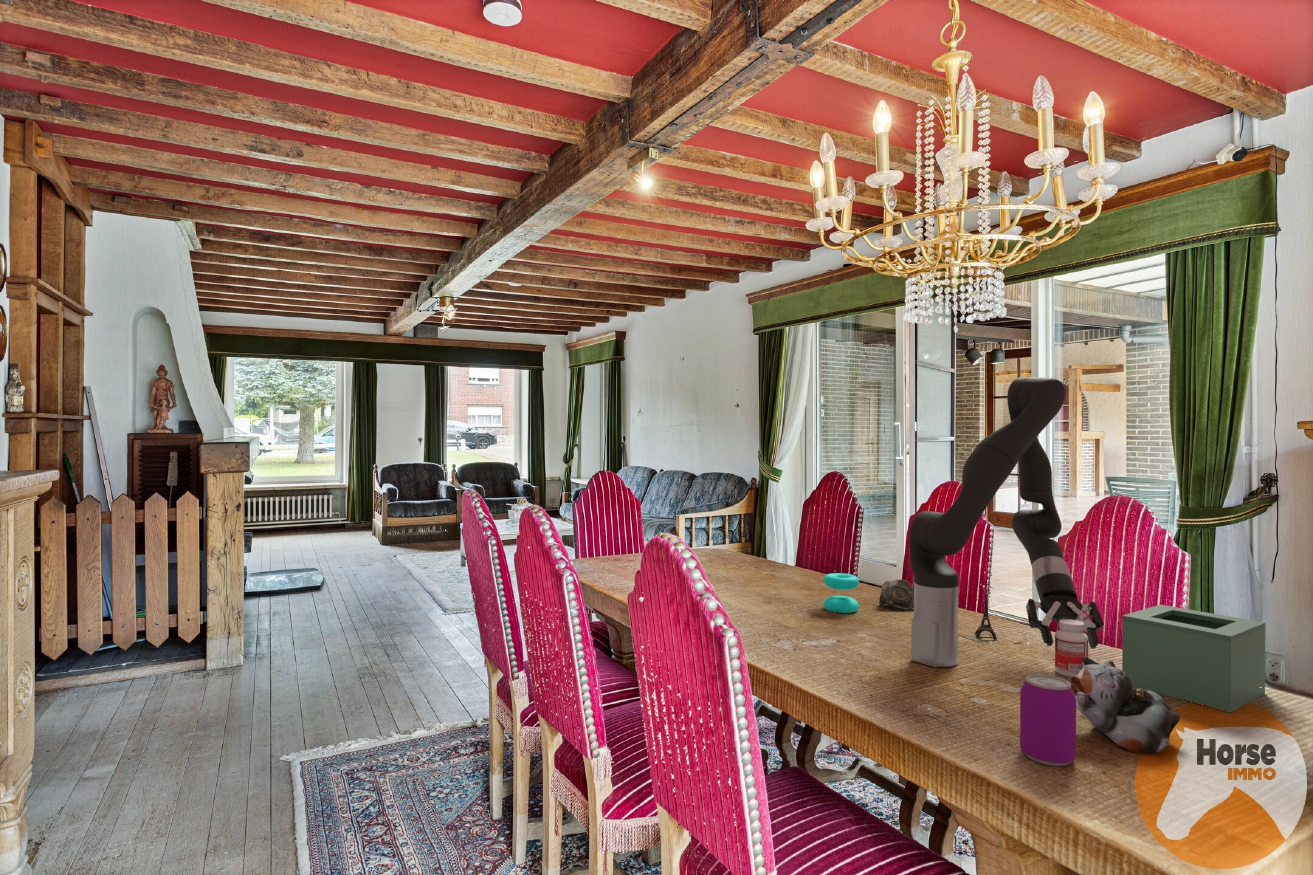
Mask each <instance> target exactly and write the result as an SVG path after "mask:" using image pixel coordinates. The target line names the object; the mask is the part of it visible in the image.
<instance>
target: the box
mask: <svg viewBox="0 0 1313 875" xmlns="http://www.w3.org/2000/svg"><path fill="white" fill-rule="evenodd" d="M1121 650H1122V654H1121V655H1122V657H1121V658H1122V659H1121V661H1122V664H1121V665H1122V668H1121V670H1122V671H1124V672H1125V673H1126V674H1127V676H1128V677H1129V679H1130V680H1131V682H1132V684H1133V686H1134V687H1135V688H1138V689H1140V688H1142V689H1145V690H1150V691H1153V692H1155V693H1157V694H1158V695H1160V696H1161V695H1162V696H1166V697H1170V698H1173V699H1176V698H1177V700H1180V699H1181V700H1182V701H1184V700H1186V701H1185V702H1188V701H1192V702H1194V703H1193V704H1195V703H1199V704H1203V705H1206V706H1205V707H1207V706H1209V707H1208V708H1211V707H1213V708H1212V709H1214V708H1215V710H1219V711H1222V712H1227V713H1229V712H1231V713H1233V712H1234V710H1235V711H1236V710H1238V709H1240V708H1241V707H1244V706H1246V705H1247V704H1250V703H1251V702H1253V701H1254V700H1256V699H1258V698H1260V697H1262V696H1263V695H1266V694H1265V693H1266V622H1263V621H1258V620H1252V619H1245V618H1240V617H1234V616H1228V615H1224V614H1223V615H1222V614H1217V613H1211V612H1206V611H1199V610H1194V609H1190V608H1189V609H1188V608H1182V607H1176V606H1171V605H1165V604H1158V605H1155V606H1151V607H1148V608H1145V609H1144V608H1143V609H1142V610H1141V609H1140V610H1138V611H1134V612H1131V613H1128V614H1124V615H1122V649H1121ZM1259 687H1262V688H1259ZM1192 702H1191V703H1192ZM1199 704H1198V705H1199ZM1203 705H1202V706H1203Z"/></svg>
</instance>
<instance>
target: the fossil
mask: <svg viewBox="0 0 1313 875" xmlns="http://www.w3.org/2000/svg"><path fill="white" fill-rule="evenodd" d="M880 591H881V592H880V596H879V602H878V605H879V604H880V605H879V606H882V605H883V606H885V605H887V606H889V607H890V608H891V609H893V610H896V611H899V610H903V611H902V612H906V611H907V610H909V611H911V610H914V587H913V586H912V583H910V582H909V581H908V580H905V579H895V580H886V581H884V582H883V583H882V586H881V590H880ZM907 612H908V611H907Z"/></svg>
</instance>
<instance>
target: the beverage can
mask: <svg viewBox="0 0 1313 875" xmlns="http://www.w3.org/2000/svg"><path fill="white" fill-rule="evenodd" d="M1070 683H1071V682H1070V680H1067V679H1065V678H1063V677H1059V676H1056V675H1050V674H1043V673H1042V674H1041V673H1033V674H1032V673H1031V674H1027V675H1026V676H1025V679H1024V681H1023V684H1022V686H1021V688H1020V691H1019V692H1020V693H1019V694H1020V695H1019V696H1020V698H1019V700H1020V701H1019V703H1020V705H1019V706H1020V707H1019V746H1020V751H1021V752H1023V753H1024V755H1025V756H1026V757H1027V758H1028V759H1030V760H1032V761H1033V762H1036V763H1039V764H1042V765H1045V766H1051V767H1065V766H1068V765H1070V763H1072V762H1074V761H1075V760H1076V756H1077V755H1076V754H1077V707H1076V698H1075V695H1074V693H1073V690H1072V687H1071V684H1070Z"/></svg>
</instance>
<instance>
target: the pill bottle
mask: <svg viewBox="0 0 1313 875" xmlns="http://www.w3.org/2000/svg"><path fill="white" fill-rule="evenodd" d="M1058 628H1059V629H1058V630H1057V631H1056V632H1055V633H1054V670H1055V672H1056V673H1057V674H1059V675H1061V676H1064V677H1068V678H1069V677H1071V676H1075V677H1076V676H1077V675H1078V674H1079V671H1080V669H1081V664H1082V662H1083V661H1082V658H1083V657H1087V658H1089V641H1088V636H1087V635H1086V632H1085V633H1084V631H1085V630H1084V623H1083V622H1081V621H1077V620H1071V619H1062V620H1059V622H1058Z"/></svg>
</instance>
